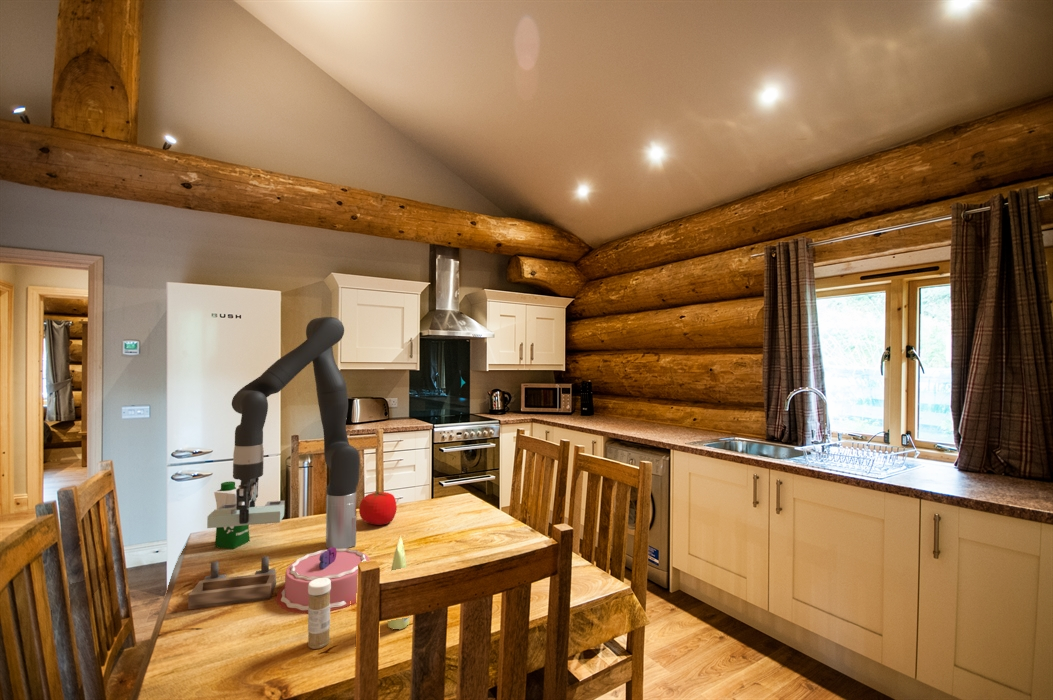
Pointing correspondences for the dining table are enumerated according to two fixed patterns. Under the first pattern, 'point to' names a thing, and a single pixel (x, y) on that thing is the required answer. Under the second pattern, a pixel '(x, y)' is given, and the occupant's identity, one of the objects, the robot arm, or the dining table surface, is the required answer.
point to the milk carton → (232, 534)
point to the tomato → (378, 508)
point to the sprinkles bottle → (319, 613)
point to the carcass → (233, 587)
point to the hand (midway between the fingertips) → (247, 519)
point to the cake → (322, 565)
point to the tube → (397, 563)
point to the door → (257, 515)
